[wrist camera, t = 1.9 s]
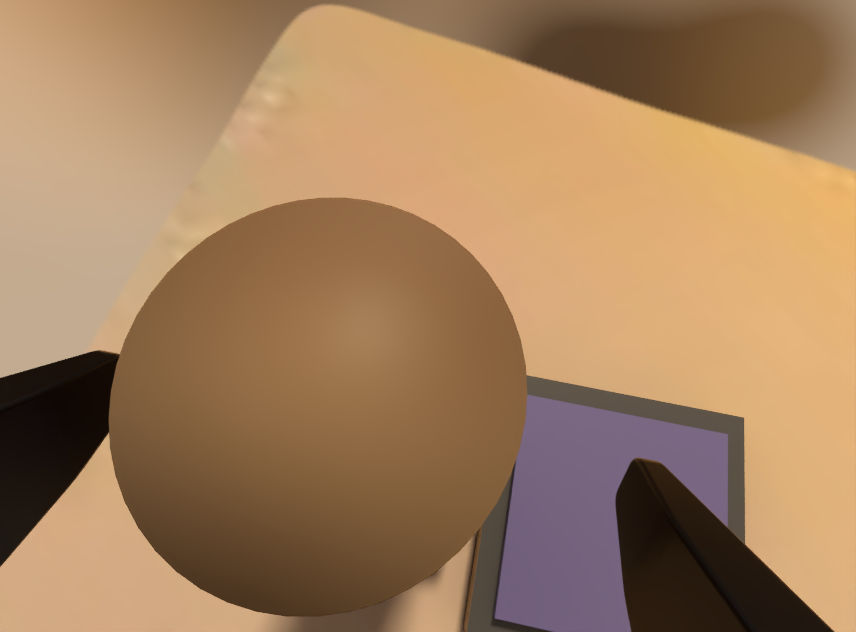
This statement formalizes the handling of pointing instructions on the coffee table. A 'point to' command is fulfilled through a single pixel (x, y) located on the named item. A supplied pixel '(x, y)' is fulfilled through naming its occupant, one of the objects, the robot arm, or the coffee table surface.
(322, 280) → the wooden handle on base
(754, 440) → the coffee table surface
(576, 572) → the ink pad
